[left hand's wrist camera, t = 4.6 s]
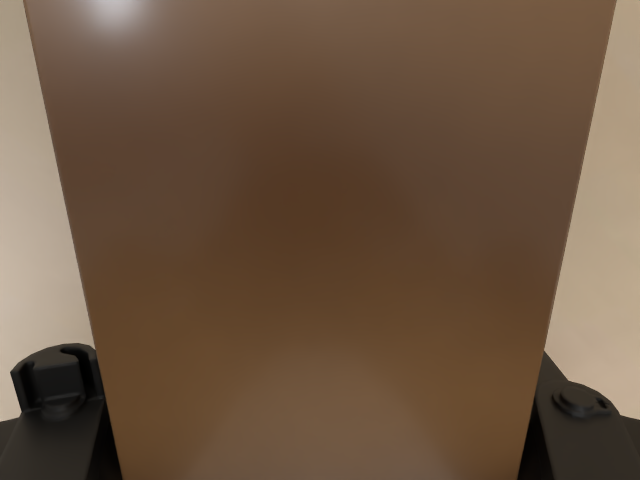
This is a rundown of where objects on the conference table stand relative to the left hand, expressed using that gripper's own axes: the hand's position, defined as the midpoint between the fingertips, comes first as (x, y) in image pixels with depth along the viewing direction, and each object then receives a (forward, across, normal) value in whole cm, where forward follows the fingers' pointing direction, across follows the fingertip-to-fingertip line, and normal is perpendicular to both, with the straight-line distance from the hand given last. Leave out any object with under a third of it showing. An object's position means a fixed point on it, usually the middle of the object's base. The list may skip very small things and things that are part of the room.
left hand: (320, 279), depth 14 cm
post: (+1, 0, -33) cm, 33 cm away
